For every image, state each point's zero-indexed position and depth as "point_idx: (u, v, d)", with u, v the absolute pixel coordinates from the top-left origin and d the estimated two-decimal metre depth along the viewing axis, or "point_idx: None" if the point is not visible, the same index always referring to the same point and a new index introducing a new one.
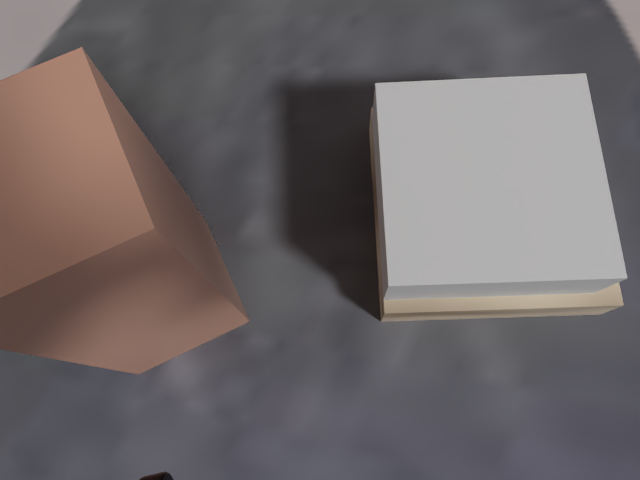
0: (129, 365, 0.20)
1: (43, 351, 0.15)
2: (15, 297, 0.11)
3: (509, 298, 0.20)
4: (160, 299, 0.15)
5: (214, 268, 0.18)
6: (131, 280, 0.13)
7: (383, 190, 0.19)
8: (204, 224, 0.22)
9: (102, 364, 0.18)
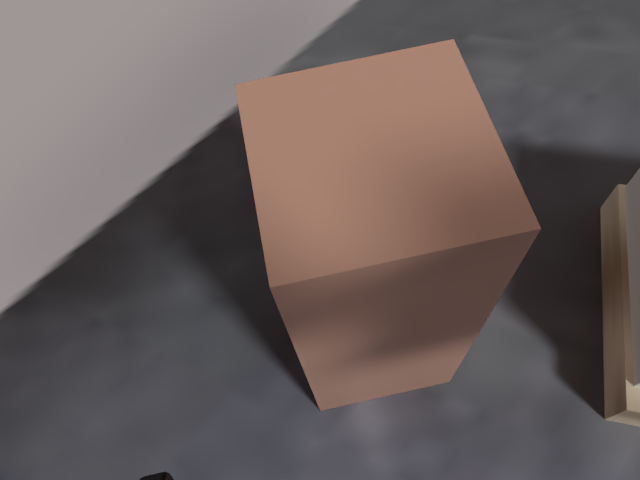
0: (328, 396, 0.18)
1: (306, 351, 0.13)
2: (369, 273, 0.10)
3: None
4: (437, 323, 0.13)
5: None
6: (451, 289, 0.11)
7: None
8: None
9: (316, 386, 0.17)
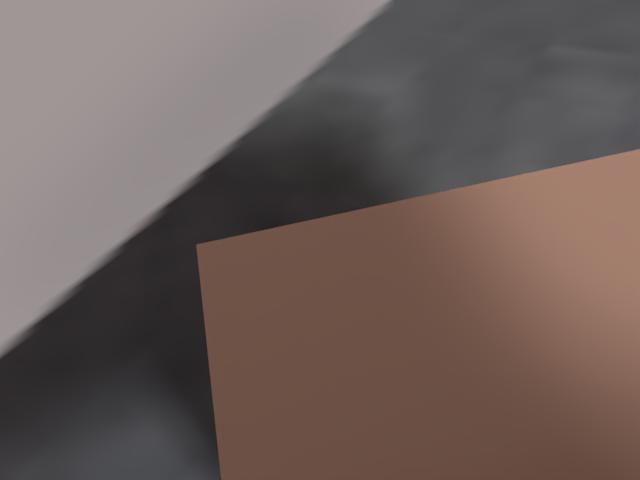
0: None
1: None
2: None
3: None
4: None
5: None
6: None
7: None
8: None
9: None
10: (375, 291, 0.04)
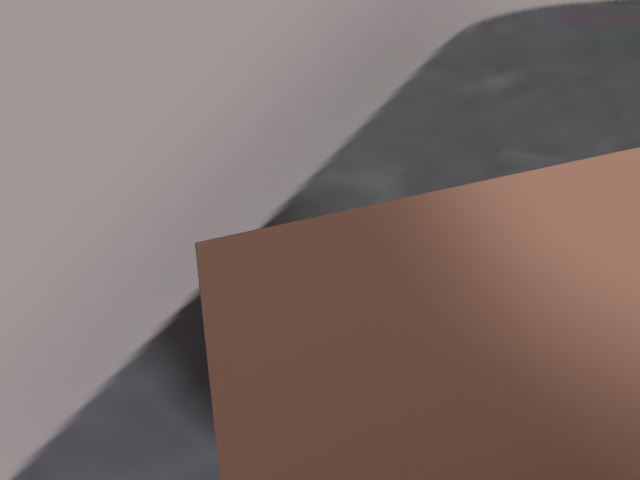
0: None
1: None
2: None
3: None
4: None
5: None
6: None
7: None
8: None
9: None
10: (373, 289, 0.04)
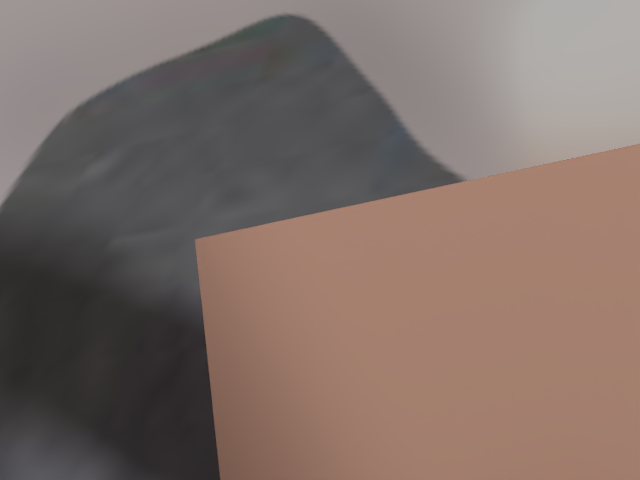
0: None
1: None
2: None
3: None
4: None
5: None
6: None
7: None
8: None
9: None
10: (373, 286, 0.04)
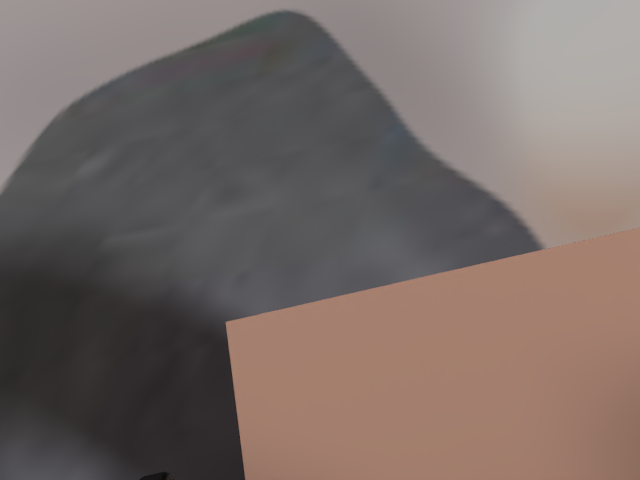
0: None
1: None
2: None
3: None
4: None
5: None
6: None
7: None
8: None
9: None
10: (356, 359, 0.05)
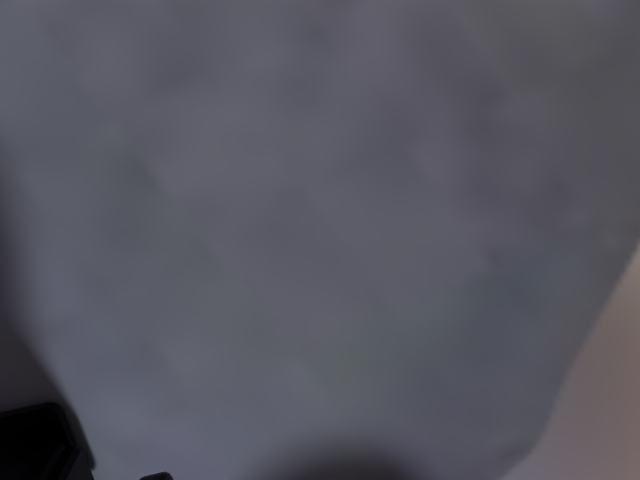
0: None
1: None
2: None
3: None
4: None
5: None
6: None
7: None
8: None
9: None
10: None
